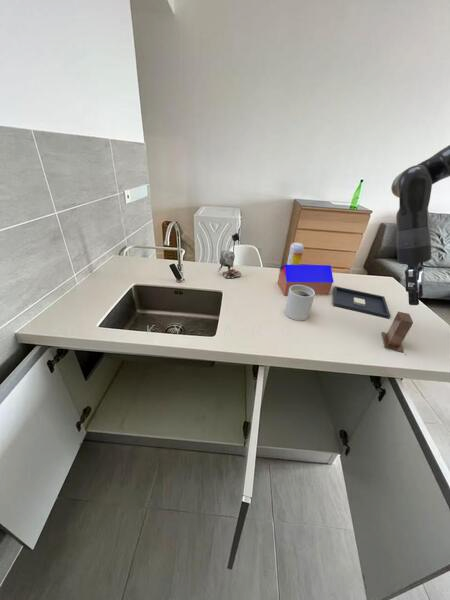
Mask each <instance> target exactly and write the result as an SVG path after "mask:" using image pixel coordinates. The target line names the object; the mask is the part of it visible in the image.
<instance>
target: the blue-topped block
mask: <svg viewBox="0 0 450 600" xmlns="http://www.w3.org/2000/svg"><path fill="white" fill-rule="evenodd" d="M334 281H335V280H334V276H333V270H332V265H331V264H330V265H329V264H300V265H287V264H284V265H282V266H281V267H280V268H279V273H278V279H277V285H278V287H279V289H280V291H281V292H282V294H283V296H287V297H288V293H289V288H290V287H291V286H293V285H303V286H307V287H309V288H311V289H313V290H314V292H315V295H316V296H317V295H318V296H326V295H327V296H329V294H330V292H331V288H332V285H333V283H334ZM315 295H314V296H315Z"/></svg>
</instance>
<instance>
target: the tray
mask: <svg viewBox="0 0 450 600" xmlns="http://www.w3.org/2000/svg"><path fill="white" fill-rule="evenodd" d="M354 297H355V298H360V299H364V300H365V306H361V305H357V304H354V300H353V299H354ZM332 301H333V302H332V307H334V308H335V307H336V308H340V309H344V310H349V311H352V312H356V313H361V314H365V315H370V316H374V317H378V318H383V319H387V320H390V318H391V313H390V310H389V307H388V303H387V301H386V297H385V295H384V296H383V295H379V294H374V293H370V292H366V291H365V292H364V291H360V290H355V289H352V288H351V289H350V288H346V287H340V286H334V288H333V300H332Z"/></svg>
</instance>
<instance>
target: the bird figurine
mask: <svg viewBox="0 0 450 600" xmlns="http://www.w3.org/2000/svg"><path fill="white" fill-rule="evenodd" d="M231 239H232V241H233V248H232V251H231V250H227V249H224V250H221V253H220V258H219V264H220V267H219V268H218V270H217V273H219V272H220V271H221V270H222V268H223V267H226V268H227V270H226V271H223V272H222V276H223V277H224V278H226V279H233V278H235V277H241V276H242V273H241V272H240V271H239V270H236V269H235V268H233V267H234V262H235V258H236V256H235V245H236V242H237V241H239V242H241V240H240V235H239V233H238V232H235V233H233V234H232V235H231Z"/></svg>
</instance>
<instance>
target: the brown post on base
mask: <svg viewBox="0 0 450 600" xmlns="http://www.w3.org/2000/svg"><path fill="white" fill-rule="evenodd" d="M413 324H414V321H413V319H412V317H411V314H410V313H408V312H402V311H397V312H396V315H395V317H394V319H393V321H392V323H391V325H390V326H389V329H388V331H387V332H384V331H381V333H380V334H381V339H382V343H383V347H384V349H387V350H390V351H394V352H397V353H401V354H404V351H405V350H404V347H403V344H402V343H403V342H404V340H405V338H406V336H407V335H408V333H409V331H410V329H411V328H412V326H413Z"/></svg>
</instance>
